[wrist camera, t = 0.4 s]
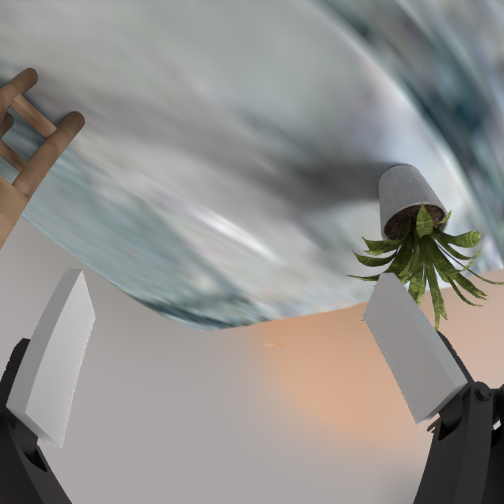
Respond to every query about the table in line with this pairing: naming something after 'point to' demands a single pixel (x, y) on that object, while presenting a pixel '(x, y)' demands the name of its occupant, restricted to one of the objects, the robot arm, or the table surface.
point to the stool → (32, 173)
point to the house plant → (418, 238)
